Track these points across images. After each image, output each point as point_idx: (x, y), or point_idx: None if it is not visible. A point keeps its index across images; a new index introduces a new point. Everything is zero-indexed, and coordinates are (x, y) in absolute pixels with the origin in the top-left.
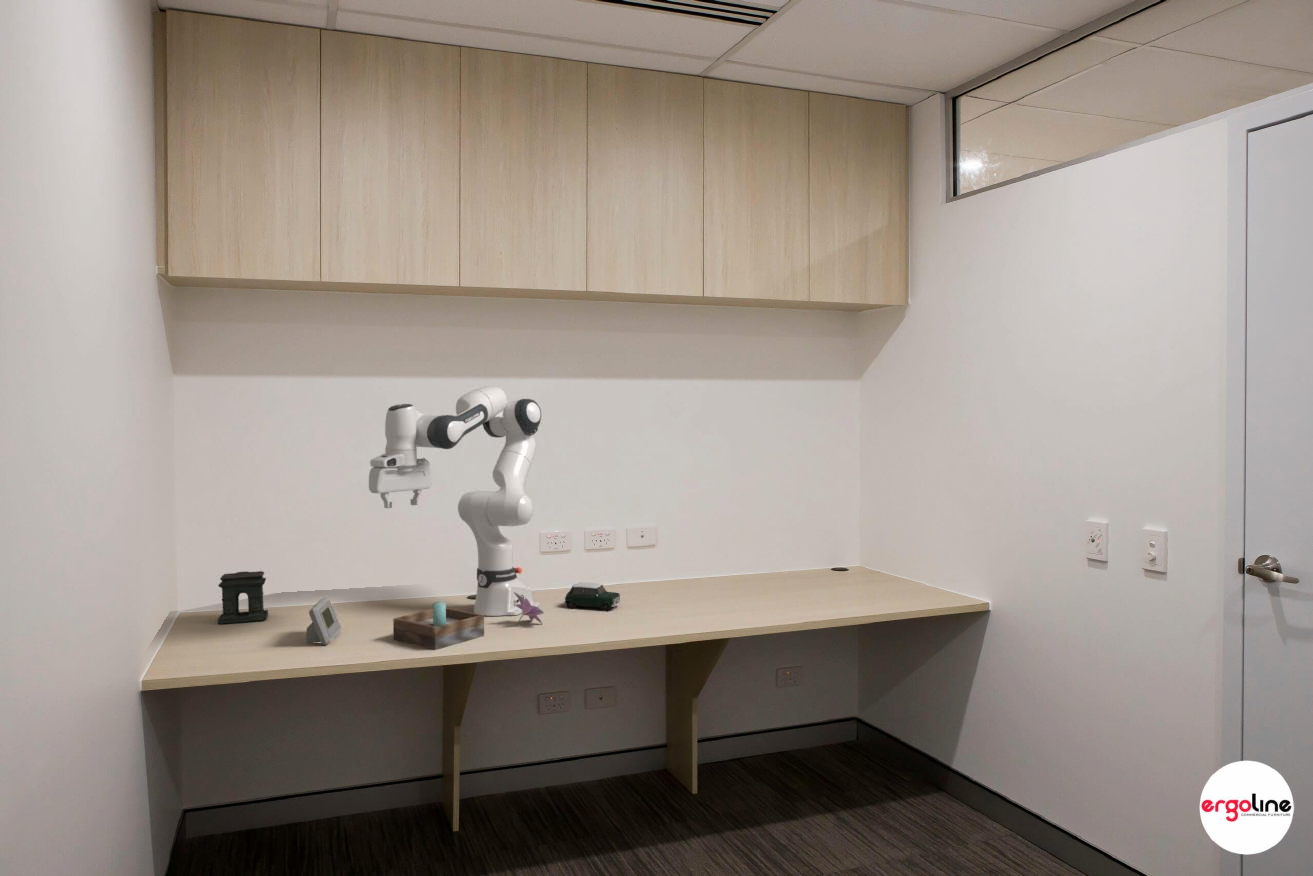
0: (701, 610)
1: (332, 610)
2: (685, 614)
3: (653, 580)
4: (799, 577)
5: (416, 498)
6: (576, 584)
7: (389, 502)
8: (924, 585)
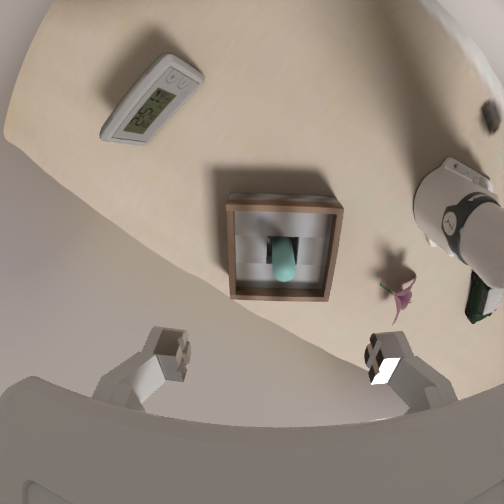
0: (471, 358)
1: (175, 80)
2: (458, 359)
3: None
4: None
5: (391, 384)
6: (494, 291)
7: (164, 378)
8: None
